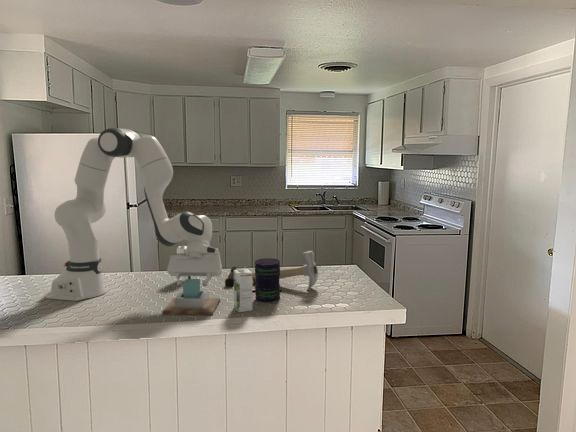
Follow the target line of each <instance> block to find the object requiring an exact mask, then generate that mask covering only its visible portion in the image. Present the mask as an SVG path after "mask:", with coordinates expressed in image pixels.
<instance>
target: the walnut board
mask: <svg viewBox="0 0 576 432" xmlns="http://www.w3.org/2000/svg"><path fill="white" fill-rule="evenodd" d="M175 298H176V297H173V298H172V299H171V300H170V302H169V303H167V305H166V306H165V308H164V309H163V310H161V311H162V315H173V314H213V313H215V312H216V310H217V308H218V307H219V305H220V303H221V298H220V297H219V298H218V297H217V298H214V297H213V298H212V297H211V298H210V297H209V301H208V302H207V304H206V305H205V307H204V308H203V310H199V309H175ZM217 306H218V307H217ZM213 315H214V314H213Z"/></svg>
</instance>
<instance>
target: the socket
mask: <svg viewBox="0 0 576 432" xmlns="http://www.w3.org/2000/svg"><path fill="white" fill-rule="evenodd" d="M209 292H210V291H209V289H200V297H183V289H182V290H180V292H179V293H178V294H177V295H176V296H175V297H174V298H175V309H199V310H203V308H204V307H205V305H206V304H207V302H208V301H209V298H210V297H209V294H210V293H209Z"/></svg>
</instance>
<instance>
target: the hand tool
mask: <svg viewBox="0 0 576 432" xmlns="http://www.w3.org/2000/svg"><path fill="white" fill-rule="evenodd" d="M234 270H237V266H232V267H231V268H230V272H229V274H228V276H227V278H226V279H225V280H224V286H225V287H226V288H229V287H231V288H232V287H234Z"/></svg>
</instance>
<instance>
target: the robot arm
mask: <svg viewBox="0 0 576 432" xmlns="http://www.w3.org/2000/svg"><path fill="white" fill-rule="evenodd" d="M115 158H120V159H121V158H134V159H135V160H136V162H137V164H138V165H139V166H138V167H139V168H140V169H141V170H140V171H141V173H142V177H143V180H144V187H143V190H144V191H143V192H144V196H145V200H146V203H147V206H148V209H149V212H150V215H151V219H152V222H153V226H154V232H155V237H156V239H157V241H158V242H159V243H161V244H162V245H163V246H166V247H174V246H175V245H176V244H178V243H180V242H181V241H183V240H186V241H187V245H186V246H187V249H186V253H177V252H176V253H173V254H171V255H170V257H169V259H168V261H169V262H168V265H167V268H166V270H167V271H166V272H167V274H168V275H169V276H170V277H176V280H177V282H176V285H177V287H183V282H182V280H179V278H180V277H181V276H192V277H206V278H205V279H204V280H202V285H201V286H202V287H208V283H209V282H210V280H212V277H220V276H222V272H223V271H222V270H223V269H222V267H223V265H222V261H221V253H220V250H219V249H218V248H216V247H213V246H211V245H210V243H211V241H212V237H213V223H212V220H211V219H210V217H208V216H207V215H203V214H198V215H196V214H195V213H193V212H191V211H189V210H188V211H183V212H180V213H177V214H176V215H174V216H172V217H171V218H169V217H168V214H167V213H168V212H167V210H166V208H165V204H164V199H163V196H164V193H165V191H166V188H167V187H168V186H169V184H170V183H171V181H172V180H173V176H174V168H173V165H172V163H171V160H170V158H169V157H168V154H167V153H166V151H165V149H164V148H163V146H162V145H161V143H160V141H158V139H157V138H156V137H155V136H154V135H149V134H148V135H142V134H141V133H140V132H138V131H136V130H133V129H129V128H124V127H122V128H116V127H110V128H107V129H104V130H103V131H101V132H100V133H99V135H98V137H92V138H90V139H89V140H88V141H87V143H86V145H85V147H84V149H83V151H82V153H81V156H80V159H79V162H78V163H79V164H78V166H77V170H76V174H75V177H74V183H75V185H76V196H75V198H74V199H69V200H66V201H65V202H64V201H63V203H61V204H60V205H58V206H57V207H56V209H55V210H54V219H55V222H56V223H57V225H58V226H60V227H61V229H62V230H63V232H64V234H65V238H66V239H67V240H66V241H67V245H68V246H67V247H68V256H69V260H68V261H66V262H65V263H63V267H66V269H65V270H64V271H63V272H61V274H58V276H57V277H55V278H54V279H53V280H52V282H51V287H50V290H49V291H47V292H46V293H45V296H44V298H45V299H49V300H60V301H71V302H76V301H77V302H78V301H82V300H85V299H91V298H95V297H99V296H102V295H103V294H105V293H107V289H106V285H105V283H104V280H103V275H102V271H103V267H102V266H103V265H102V258H101V257H100V255H101V254H100V241H99V238H98V237H97V236H96V235H95V232H94V231H93V228H92V224H94V223H96V222H98V221H100V220H101V218H103V217H104V215H105V214H106V211H107V210H106V208H107V207H106V205H105V202H104V201H105V197H104V196H105V188H106V184H107V181H108V177H109V173H110V171H111V166H112V163H113V161H114V159H115Z"/></svg>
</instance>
